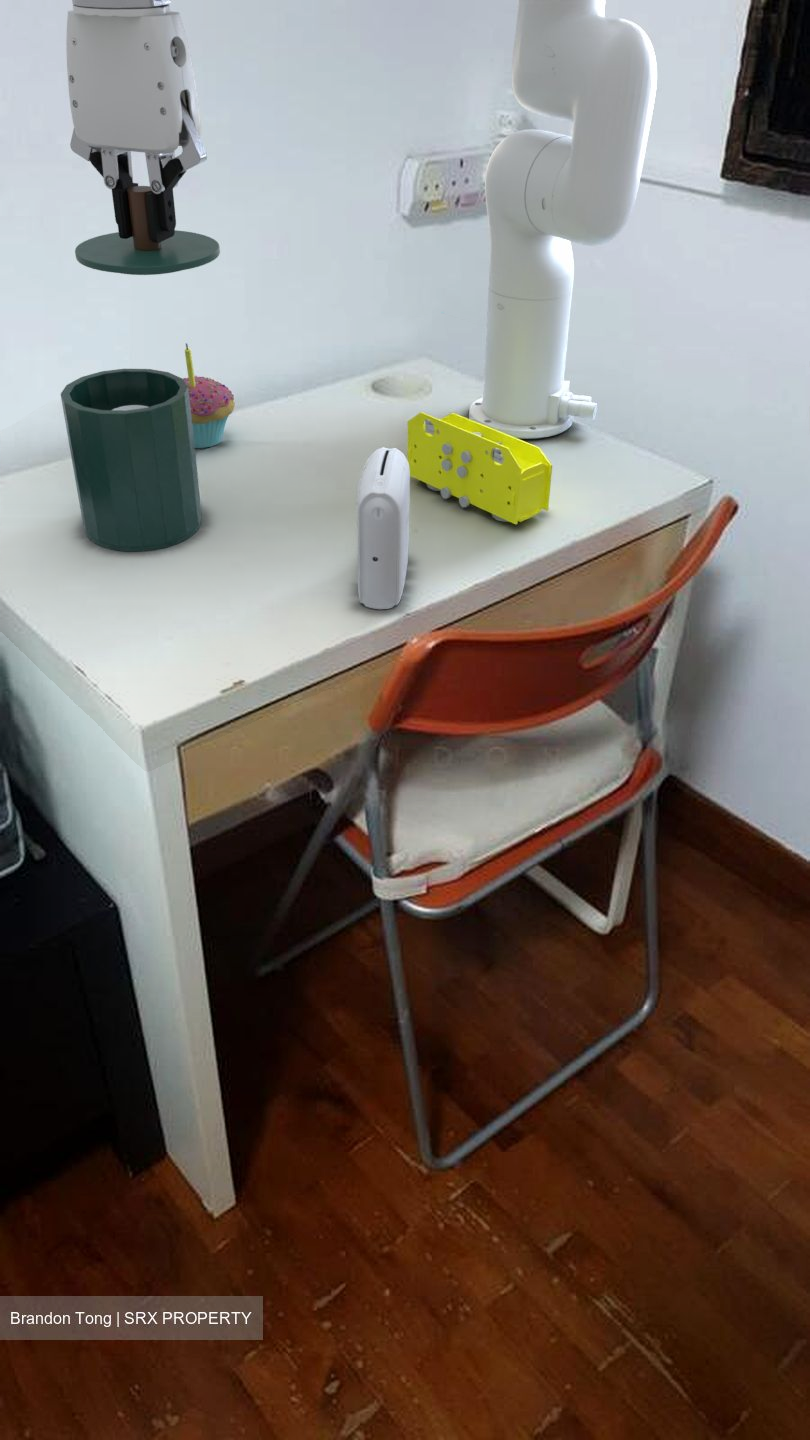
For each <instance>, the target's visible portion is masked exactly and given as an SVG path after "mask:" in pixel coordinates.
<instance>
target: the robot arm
mask: <svg viewBox="0 0 810 1440" xmlns="http://www.w3.org/2000/svg"><path fill="white" fill-rule="evenodd" d="M71 2H72V9H70V10H68V11H67V19H66V43H65V44H66V46H65V47H66V69H67V71H66V72H67V83H68V96H69V104H70V105H69V106H70V112H71V113H70V114H71V118H72V119H71V120H72V123H73V130H72V135H71V138H70V144H69V145H70V149H71V151H72V152H73V153H75V155H78V156H79V157H80V158H83V159H84V160H86V161H87V162H90V163H91V165H92V166H93V168H94V169H95V170H96V171H97V172H98V173H99V174H100V176H101V177H102V178H103V182H104V186H105V187H106V188H107V189H109V190H111V195H112V203H113V210H114V211H113V212H114V220H115V223H116V224H117V230H118V231H117V232H119V236H120V238H123V239H128V238H130V237H132V236H133V235H132V226H131V218H130V210H129V202H128V193H127V189H128V188H130V187H134V186H139V183H138V182H134V179H133V178H134V175H133V174H134V173H133V161H132V152H134V153H135V152H136V153H144V155H145V161H146V162H145V163H146V168H147V175H148V182H149V186H150V188H151V192H149V193H147V194H146V197H145V198H146V207H147V216H148V225H149V234H150V239H151V240H152V242H156V243H160V242H162V241H164V240H166V239H168V238H170V237H172V236H174V234H175V230H176V227H177V219H176V207H175V199H174V198H175V197H174V189H175V188H177V187H178V185H179V181H180V180H181V179H182V178H183V176H184V175H185V174H186V172H187V171H189V170H191V169H193V168H194V167H196V166H199V165H201V164H202V163H205V162H206V161H207V160H208V154H207V152H206V151H207V150H206V149H205V146H204V145H203V142H202V140H201V138H202V124H201V122H202V121H201V113H200V103H199V98H198V97H199V96H198V90H197V83H196V77H195V70H194V66H193V60H192V54H191V51H190V50H191V49H190V47H189V42H188V37H187V34H186V31H185V27H184V23H183V20H182V17H181V13H180V12H178V11H172V10H171V9H170V5H171V3H172V2H171V0H71ZM605 6H606V0H518V6H517V7H518V8H517V17H516V24H515V34H514V43H513V51H512V58H511V59H512V60H511V73H510V75H511V77H510V81H511V89H512V92H513V96H514V98H515V100H516V102H518V104H519V105H520V106H521V107H522V108H524V109H525V110H527V111H528V112H531V113H533V114H536V115H539V116H541V117H545V118H549V119H550V118H551V119H554V120H557V121H558V120H559V121H563V122H568V123H572V124H573V127H572V136H571V135H567V134H563V133H559V132H554V131H550V130H546V129H545V130H544V129H536V128H530V129H522V130H518V131H515V132H513V133H511V134H509V135H507V136H505V137H504V138H503V139H502V140H501V141H500V142H499V143H498V144H497V145H496V147H495V148H494V149H493V151H492V153H491V155H490V157H489V160H488V163H487V166H486V169H485V177H484V197H485V206H486V213H487V220H488V229H489V271H488V272H489V275H488V287H487V288H488V291H487V308H486V309H487V311H486V325H485V327H486V328H485V329H486V331H485V344H484V346H485V347H484V365H483V367H484V368H483V383H482V396H481V397H480V398H477V399H476V400H475V401H473V402H472V403H471V404H470V405H469V410H468V419H470V420H473V421H475V422H478V423H480V424H483V425H485V426H488V427H490V428H492V429H495V430H497V431H500V432H502V433H505V434H507V435H510V436H512V437H515V438H517V439H520V440H525V439H526V440H529V439H531V440H532V439H543V438H549V437H553V436H556V435H559V434H561V433H563V432H566V431H567V430H568V429H569V428H570V427H571V426H572V424H573V422H574V417H577V418H580V419H584V420H586V419H587V420H593V421H594V420H595V419H596V416H597V412H598V402H592V400H593V399H592V396H587V395H577V394H574V392H572V391H570V386H571V381H570V380H565V374H566V373H565V372H566V361H567V352H568V351H567V350H568V339H569V330H570V329H569V328H570V320H571V319H570V318H571V311H572V299H573V290H574V282H575V281H574V279H575V263H574V262H575V260H574V253H573V247H572V243H574V244H577V245H583V246H589V247H595V246H601V245H605V244H607V243H609V242H610V241H613V239H615V238H616V237H617V236H618V235H619V234H620V233H621V232H622V230H623V229H624V228H625V226H626V225H627V223H628V221H629V219H630V217H631V215H632V212H633V210H634V207H635V204H636V200H637V196H638V190H639V187H640V182H641V178H642V171H643V167H644V161H645V157H646V156H645V155H646V149H647V144H648V140H649V139H648V138H649V133H650V127H651V122H652V117H653V110H654V104H655V99H656V91H657V83H658V81H657V80H658V69H657V68H658V67H657V59H656V55H655V51H654V47H653V44H652V42H651V40H650V38H649V36H648V35H647V33H646V32H645V31H644V30H643V29H642V28H641V27H640V26H639V25H638V24H636V23H634V22H633V21H630V20H627V19H625V18H620V17H615V16H607V15H605ZM179 147H181V149H182V151H181V154H179V155H177V156H176V152H175V151H176V150H177V149H178V148H179Z"/></svg>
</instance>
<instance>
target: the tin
mask: <svg viewBox="0 0 810 1440" xmlns="http://www.w3.org/2000/svg"><path fill="white" fill-rule="evenodd" d="M60 400H61V406H62V409H63V410H62V411H63V417H64V421H65V422H64V423H65V429H66V434H67V440H68V445H69V451H70V457H71V461H72V462H71V463H72V468H73V469H72V470H73V474H74V480H75V485H76V492H77V498H78V503H79V508H80V514H81V520H82V525H83V527H84V533H85V535H86V537H87V538H88V539H89V540H90V541H91V542H92V543H93V544H95V545H98V546H100V547H102V548H104V549H109V550H113V551H119V552H148V551H155V550H156V551H157V550H161V549H165V548H170V547H173V546H175V545H177V544H180V543H182V542H184V541H186V540H188V539H189V538H191V537H192V536H193V535H195V534H196V533H197V532H198V530H199V529H200V527H201V525H202V516H203V515H202V513H203V512H202V505H201V504H202V503H201V495H200V485H199V476H198V467H197V457H196V448H195V446H194V436H193V427H192V417H191V408H190V398H189V388H188V386H187V384H186V383H185V381H184V380H183V377H180V376H178V375H176V374H174V373H171V372H168V371H163V370H159V369H152V368H118V369H110V370H102V371H98V372H94V373H90V374H87V375H83V376H81V377H79V378H77V379H75V380H73V381H72V382H70V383H67V384H66V385H65V386H64V388H63V389H62V391H61V392H60ZM128 405H142V406H148V408H141V409H134V410H126V411H121V410H113V409H115V408H118V407H122V406H128Z"/></svg>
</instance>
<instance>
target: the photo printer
mask: <svg viewBox="0 0 810 1440" xmlns="http://www.w3.org/2000/svg"><path fill="white" fill-rule="evenodd" d="M410 485H411V476H410V468H409V463H408V461H407V457H406V456H405V454H404V453H403V452H402V451H401V450H399V449H398V448H396V447H393V448H387V447H384V446H382V447H379V448H377V449H376V450H375V451H373V452H372V453H371V455H370V456H368V458H367V460H366V462H365V463H364V466H363V469H362V472H361V475H360V479H359V482H358V488H357V493H356V526H357V527H356V528H357V530H356V531H357V533H356V534H357V535H356V537H357V539H356V540H357V592H358V600H359V603H360V604H363V605H364V607H366V608H369V609H373V610H388V609H393V608H394V606H398V605H399V603H400V601H401V600H402V596H403V592H404V588H405V583H406V578H407V571H408V563H409V549H410V499H411V497H410V496H411V495H410V492H411V491H410V490H411V486H410Z"/></svg>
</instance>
